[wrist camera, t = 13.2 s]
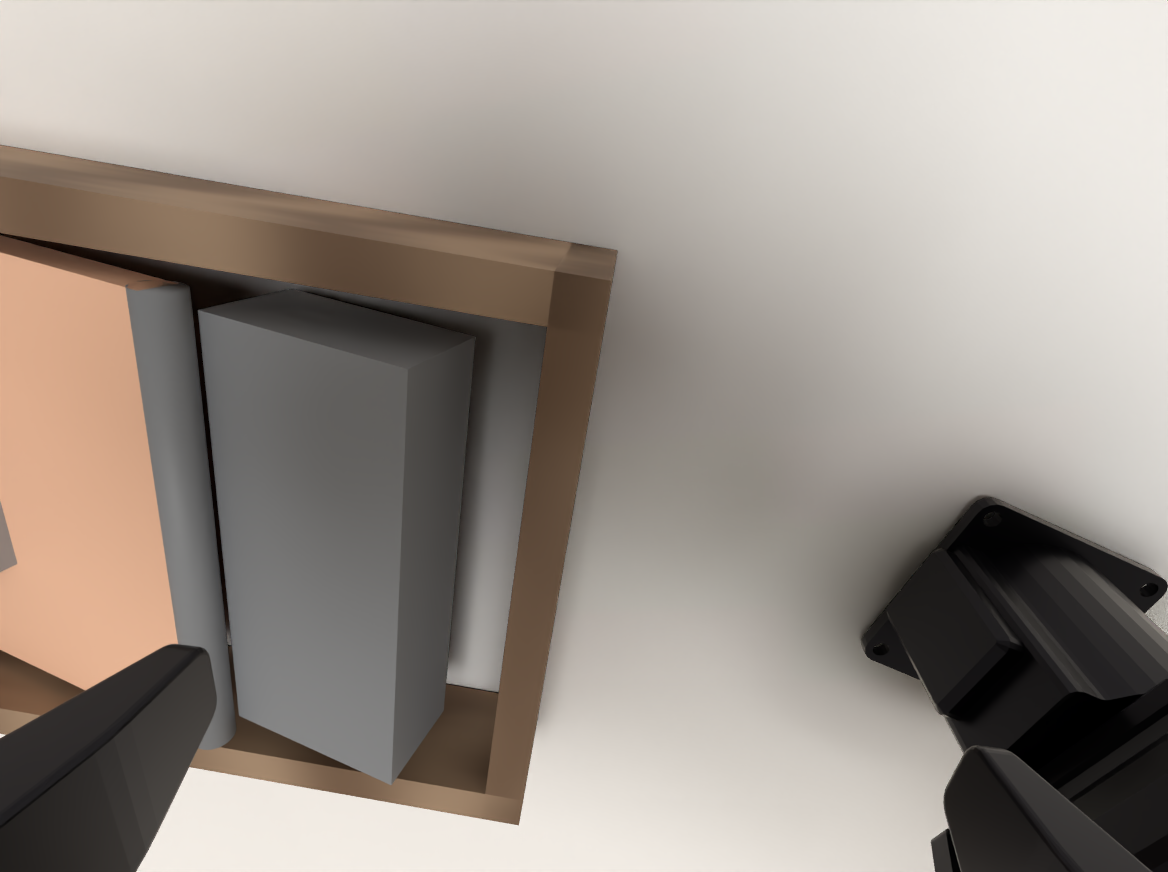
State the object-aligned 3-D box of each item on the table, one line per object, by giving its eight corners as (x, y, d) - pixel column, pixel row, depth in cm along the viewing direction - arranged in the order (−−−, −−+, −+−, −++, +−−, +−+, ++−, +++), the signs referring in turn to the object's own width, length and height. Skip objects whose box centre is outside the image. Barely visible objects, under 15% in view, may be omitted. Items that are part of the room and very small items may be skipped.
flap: (477, 317, 16) (376, 359, 12) (442, 721, 22) (368, 829, 18) (-88, 174, 21) (-280, 175, 17) (9, 538, 27) (-118, 596, 23)
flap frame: (617, 250, 17) (612, 280, 13) (536, 723, 25) (518, 825, 21) (-304, 93, 17) (-556, 80, 14) (-108, 610, 25) (-236, 691, 21)
